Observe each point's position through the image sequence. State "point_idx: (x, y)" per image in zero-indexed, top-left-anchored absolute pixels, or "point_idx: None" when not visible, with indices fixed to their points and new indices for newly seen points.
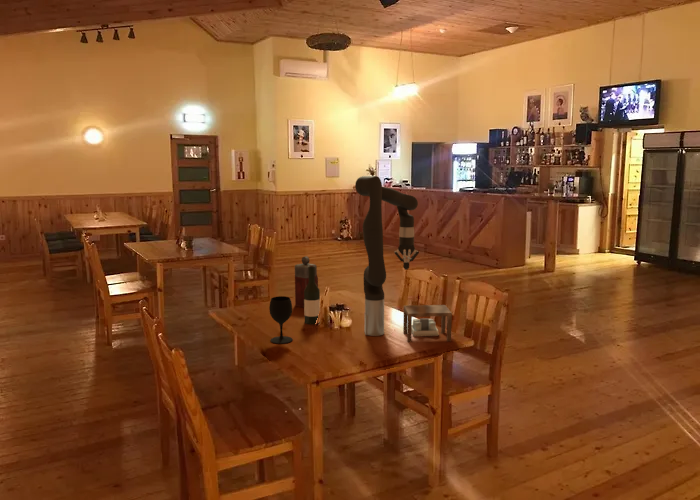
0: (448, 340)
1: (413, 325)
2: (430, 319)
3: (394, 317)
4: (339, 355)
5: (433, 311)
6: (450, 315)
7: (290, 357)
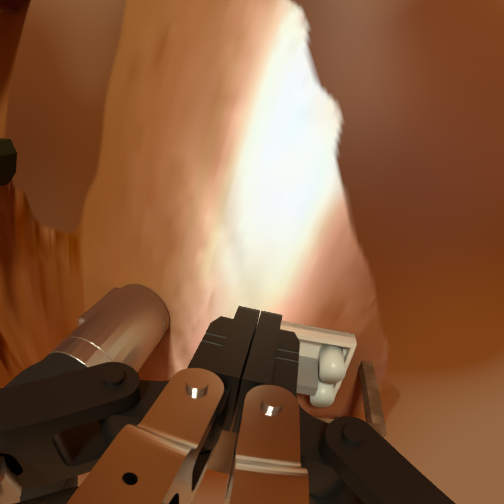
0: None
1: None
2: (334, 372)
3: (257, 138)
4: None
5: None
6: None
7: (16, 370)
